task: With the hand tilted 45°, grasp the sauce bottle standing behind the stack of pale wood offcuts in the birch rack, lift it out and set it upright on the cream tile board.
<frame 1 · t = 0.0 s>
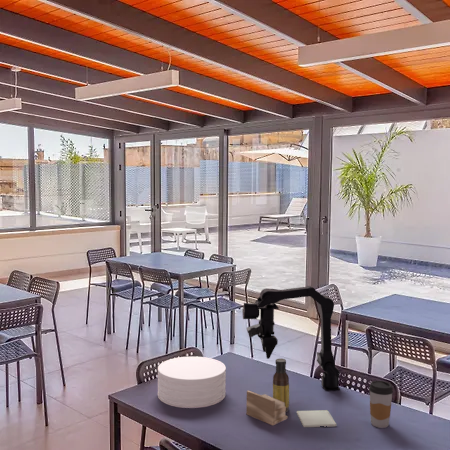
hand: (266, 355, 224), 15 cm above the table, tool pointing down, fingers open, 9 cm apart
sauce bottle: (280, 410, 204), on the table
plate stack: (191, 394, 219), on the table
offcut rack: (267, 404, 198), on the table
cream tile board: (315, 419, 196), on the table
coffee cup: (379, 424, 192), on the table
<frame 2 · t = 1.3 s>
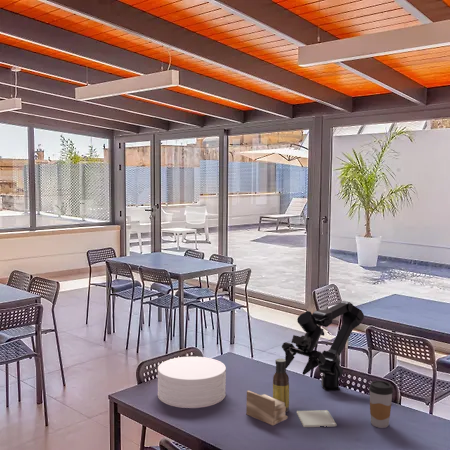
hand: (293, 371, 209), 13 cm above the table, tool tilted 45°, fingers open, 9 cm apart
nothing on the table moved.
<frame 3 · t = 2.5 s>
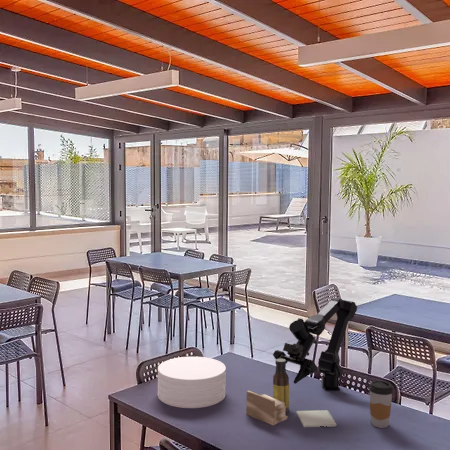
hand: (284, 379, 204), 11 cm above the table, tool tilted 45°, fingers open, 9 cm apart
nothing on the table moved.
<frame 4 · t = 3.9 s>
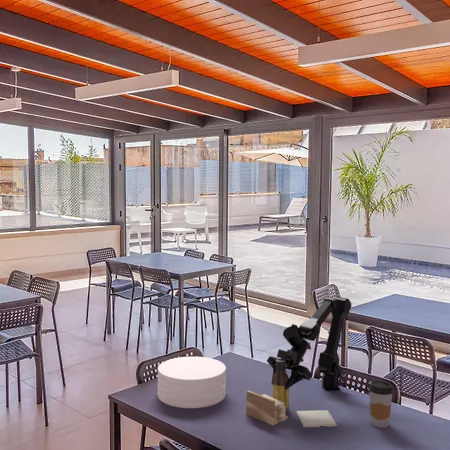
hand: (278, 386, 202), 10 cm above the table, tool tilted 45°, fingers closed on sauce bottle, 6 cm apart
sauce bottle: (280, 410, 204), on the table, touching gripper
everything else where it was.
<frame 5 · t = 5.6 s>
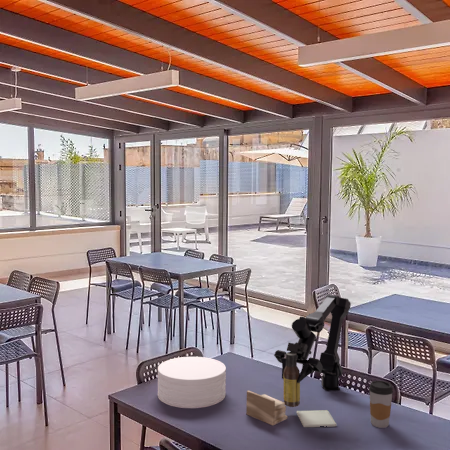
hand: (289, 380, 199), 13 cm above the table, tool tilted 45°, fingers closed on sauce bottle, 6 cm apart
sauce bottle: (291, 404, 200), point 3 cm above the table, touching gripper
everything else where it was.
when the fingers open (11 cm above the table, at t = 7.3 s): sauce bottle stays where it is, resting on cream tile board.
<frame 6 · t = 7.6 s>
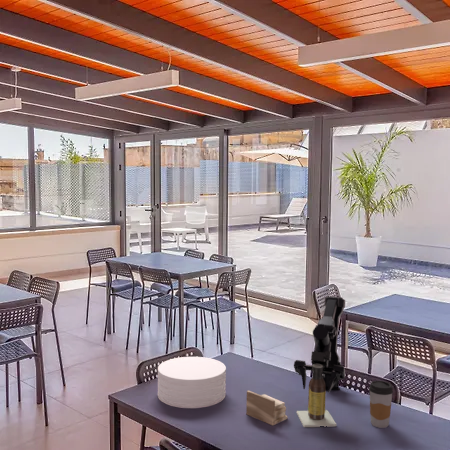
hand: (316, 390, 194), 12 cm above the table, tool tilted 45°, fingers open, 9 cm apart
sauce bottle: (316, 417, 196), point 1 cm above the table, touching cream tile board
everything else where it was.
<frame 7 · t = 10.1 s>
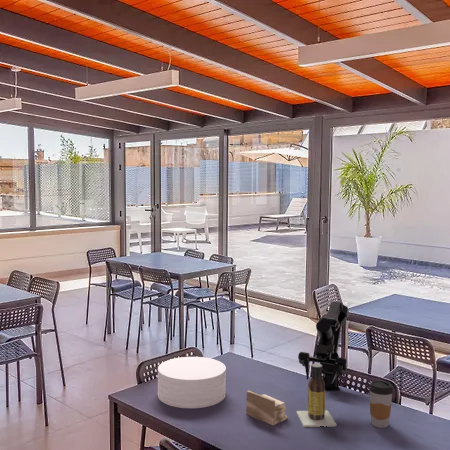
hand: (319, 381, 203), 12 cm above the table, tool tilted 45°, fingers open, 9 cm apart
nothing on the table moved.
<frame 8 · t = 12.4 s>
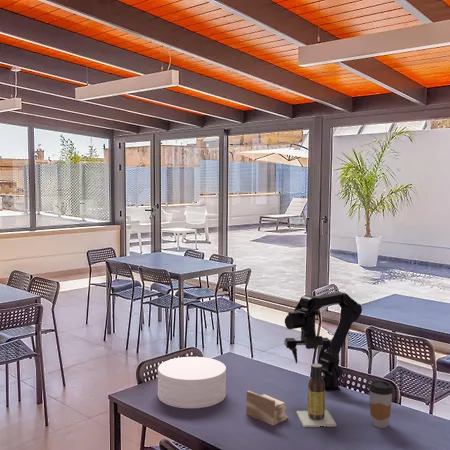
hand: (307, 363, 220), 13 cm above the table, tool pointing down, fingers open, 9 cm apart
nothing on the table moved.
at the end: sauce bottle inside the target area on the cream tile board (0.2 cm from its centre), point 0.6 cm above the cream tile board's base; sauce bottle tilted 0°; the gripper is holding nothing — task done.
